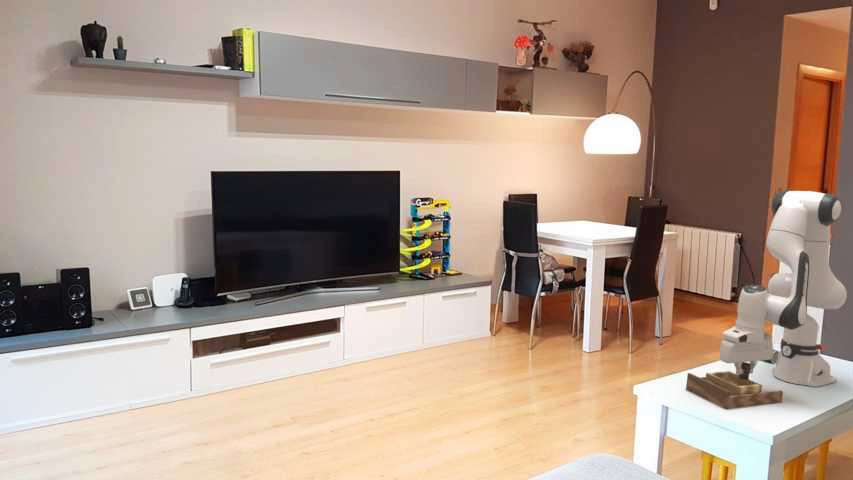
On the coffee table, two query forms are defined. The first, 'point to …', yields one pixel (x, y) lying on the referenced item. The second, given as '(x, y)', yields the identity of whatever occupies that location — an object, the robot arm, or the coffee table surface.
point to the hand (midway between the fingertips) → (744, 373)
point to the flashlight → (773, 357)
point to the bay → (723, 395)
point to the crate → (735, 381)
